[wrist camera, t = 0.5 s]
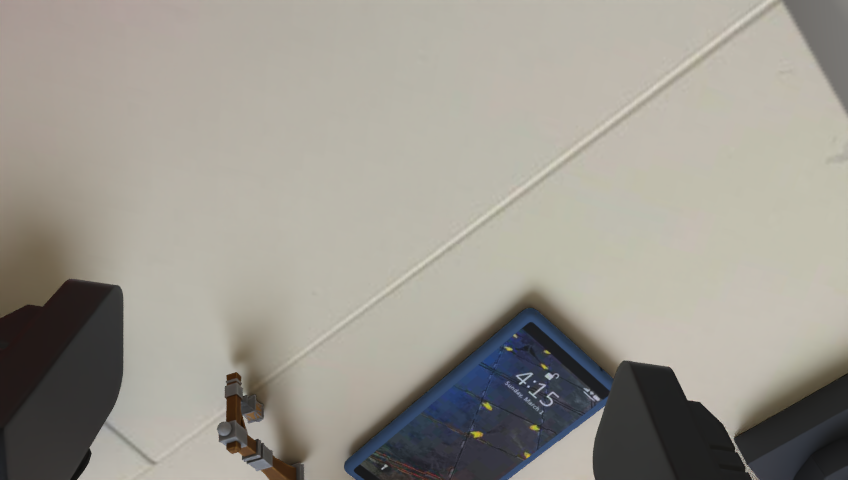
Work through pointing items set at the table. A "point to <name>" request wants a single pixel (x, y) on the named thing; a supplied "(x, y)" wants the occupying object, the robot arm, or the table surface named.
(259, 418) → the wooden post with brackets
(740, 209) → the table surface
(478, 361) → the smartphone
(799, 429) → the block
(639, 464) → the robot arm
